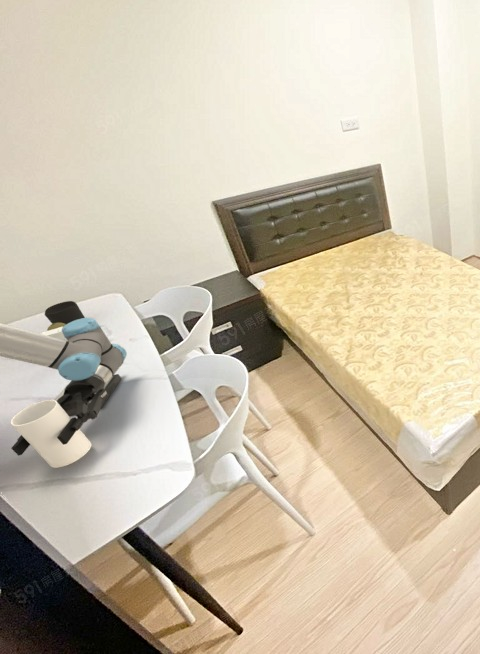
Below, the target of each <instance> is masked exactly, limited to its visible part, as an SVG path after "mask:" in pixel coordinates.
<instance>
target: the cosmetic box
mask: <svg viewBox="0 0 480 654" xmlns="http://www.w3.org/2000/svg"><path fill="white" fill-rule="evenodd" d="M62 328H63V327H59V328H56V329H52V330H49V331H47V330H45V331H43V332H40V334H42V335H46V336H50V337H53V338H57V339H61V340H64V341H68V340H67V339H66V338H65V337H64V334H63V333H62Z"/></svg>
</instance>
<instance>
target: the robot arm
mask: <svg viewBox="0 0 480 654" xmlns="http://www.w3.org/2000/svg"><path fill="white" fill-rule="evenodd" d="M62 333H63V334H64V337H65V338H66V339H67V340H68V341H64V340H61V339H57V338H53V337H50V336H46V335H42V334H41V333H39V332H35V331H31V330H28V329H24V328H21V327H17V326H12V325H8V324H5V323H1V322H0V357H2V358H5V359H10V360H14V361H18V362H23V363H27V364H32V365H37V366H42V367H46V368H49V369H50V368H51V369H53V370H57V371H58V374H59V376H60V377H62V378H63V379H65V380H67V381H69V383H68V384H66V385H65V387H66V388H65V387H64V388H65V390H64V395H63V396H62V397H60V398H59V399H58V400H57V402H58V404H59V405H60V406H61V407H62V408H63V410H64V411H65V412H67V411H69V410H71V409H76V408H77V414H75V415H74V417H70V418H71V420H70V421H69V422H68V424H67V425H66V426H65V428H64V429H63V430H62V432H61V433H60V434H59V435H58V437H57V438H58V439H59V440H60V442H61V443H62V444H63V445H64V444H67V443H68V442H69V440H70V439H71V437H72V436H73V435H74V433H75V432H76V431H78V430H79V429H80V430H81V428H82V426H83V425H84V424H85V423H87V422H88V420H95V419H97V417H98V415H99V413H100V411H101V409H102V408H101V406H102V403H103V401H104V400H105V398H106V397H107V396H108V394H107V393H106V391H105V390H104V387H105V386H106V385H107V383H108V382H109V381H110V379H111V378H112V376H113V375H115V374H117V371H118V370H119V369H120V368H121V367H122V366H123V364H124V361H125V360H126V359H127V354H128V353H127V350H126V349H125V348H124V347H123V346H121V345H120V344H117V343H112V342H111V341H110V339H109V338H108V337H107V335H106V333H105V332H104V330H103V328H102V326H101V325H100V324H99V323H98V322H97V321H96V319H94V318H92V317H85V318H82V319H78V320H75V321H72V322H70V323H68V324H66V325H65V326H64V327H63V328H62ZM89 401H91V403H90V405H89V408H88V404H89ZM102 407H103V406H102ZM87 408H88V410H87ZM100 408H101V409H100ZM30 446H31V445H30V444H29V443H28V441H27V440H26V439H25V438H24V437H23V436H22V435H21V434H20V436H19V437H17V440H16V442H15V443H14V445H13V446H12V447H11V450H12V451H13V452H14V453H15V454H16V455H17V456H22V455H24V454H25V452H26V451H27V449H28V448H29V447H30Z"/></svg>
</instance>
